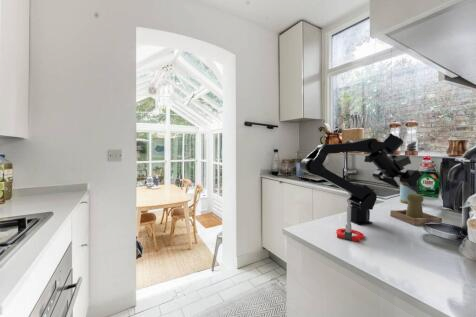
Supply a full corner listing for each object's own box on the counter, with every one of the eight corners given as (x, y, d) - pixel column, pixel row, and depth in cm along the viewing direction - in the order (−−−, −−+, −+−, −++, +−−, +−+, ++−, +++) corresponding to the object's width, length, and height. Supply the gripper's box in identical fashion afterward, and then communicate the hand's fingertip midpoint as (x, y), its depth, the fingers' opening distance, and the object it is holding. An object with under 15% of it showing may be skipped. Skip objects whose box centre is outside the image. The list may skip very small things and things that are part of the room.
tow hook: (338, 229, 78) (333, 237, 70) (339, 195, 78) (335, 199, 70) (364, 235, 73) (362, 243, 66) (365, 198, 73) (364, 203, 65)
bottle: (414, 202, 116) (415, 175, 115) (417, 204, 110) (418, 176, 109) (398, 200, 120) (399, 174, 119) (400, 203, 114) (401, 175, 113)
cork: (416, 223, 83) (418, 196, 82) (401, 218, 89) (402, 192, 88) (427, 221, 85) (428, 195, 84) (411, 217, 90) (412, 192, 90)
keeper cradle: (414, 225, 80) (414, 219, 80) (390, 216, 92) (390, 210, 92) (441, 224, 81) (442, 218, 81) (414, 215, 93) (414, 209, 93)
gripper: (418, 148, 75) (445, 178, 77) (379, 148, 94) (401, 172, 95) (397, 170, 75) (424, 200, 77) (362, 166, 94) (384, 190, 95)
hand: (407, 189), depth 86 cm, fingers open, 9 cm apart
